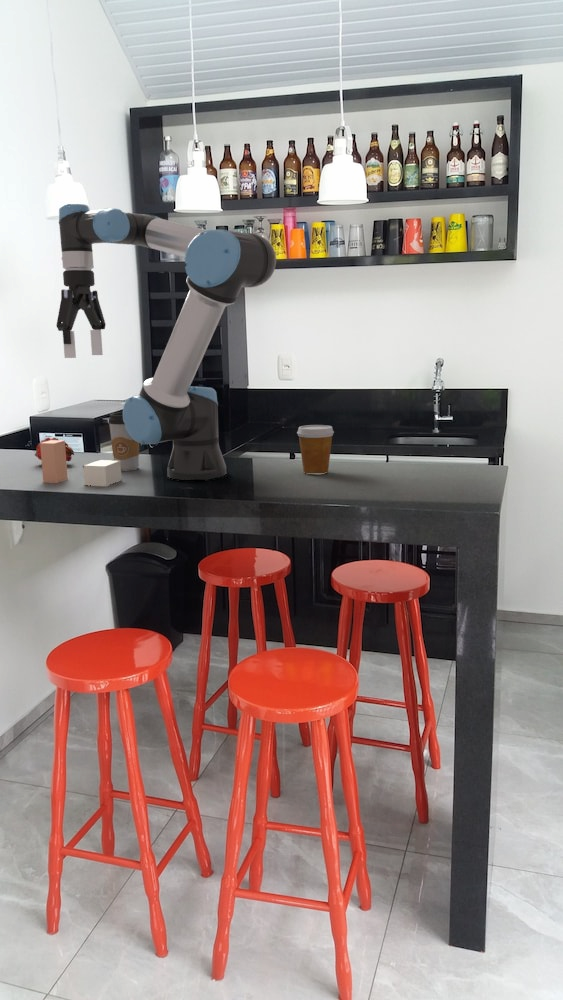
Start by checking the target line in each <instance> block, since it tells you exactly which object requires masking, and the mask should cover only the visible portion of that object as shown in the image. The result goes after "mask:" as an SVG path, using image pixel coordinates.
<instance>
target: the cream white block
mask: <svg viewBox="0 0 563 1000" xmlns="http://www.w3.org/2000/svg"><path fill="white" fill-rule="evenodd" d="M82 471H83V485H88V486H87V487H90V485H91V487H109V486H111V485H113V483H114V484H115V482H116V483H118V482H121V481H122V471H121V465H120V461H114V460H113V459H112V460H110V459H109V460H108V459H98V460H94V461H92V462H88V463H85V464H83V465H82ZM120 480H121V481H120ZM110 484H111V485H110ZM108 485H109V486H108Z"/></svg>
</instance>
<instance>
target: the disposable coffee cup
mask: <svg viewBox="0 0 563 1000" xmlns="http://www.w3.org/2000/svg"><path fill="white" fill-rule="evenodd" d="M334 433H335V431H334V429H333V426H331V425H324V424H309V425H308V424H307V425H301V426H299V427H298V429H297V431H296V434H297V436H298V439H299V440H298V442H299V447H300V454H301V461H302V462H301V464H302V469H303V473H304V472H305V473H325V472H328V473H329V468H330V457H331V452H332V451H331V450H332V441H333V436H334Z"/></svg>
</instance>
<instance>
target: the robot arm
mask: <svg viewBox="0 0 563 1000" xmlns="http://www.w3.org/2000/svg"><path fill="white" fill-rule="evenodd" d="M58 225H59V237H60V249H61V260H62V268H63V269H65V270H63V272H62V278H63V286H65V287H68V289H67V288H66V289H61V293H60V294H61V295H60V296H61V298H60V299H61V300H60V303H59V304H60V305H59V309H58V315H57V320H56V328H57V330H58V332H59V331H60V332H62V340H63V341H62V342H63V354H64V359H72V358H73V359H76V358H77V355H76V340H75V339H76V337H75V331H74V330H73V327H74V324H75V321H76V319H77V316H78V314H79V313H78V312H79V310H82V311H83V312H84V315H85V317H86V319H87V320H88V321H87V322H88V323H89V325H90V327H91V328H92V329H90V331H89V332H90V345H91V355H92V356H103V342H102V341H103V338H102V330H105V328H106V322H105V321H106V320H105V317H104V314H103V311H102V308H101V304H100V301H99V296H98V295H99V293H98V290H96V289H95V290H91V287H93V286H95V285H96V284H95V273H94V271H93V270H92V269H94V265H95V264H94V258H93V257H94V256H93V244H102V243H103V244H104V243H105V244H117V245H132V246H139V247H144V248H148V249H151V250H152V249H153V250H157V251H160V252H163V253H167V254H170V255H174V256H177V257H181V258H184V264H185V265H186V266H185V267H184V269H185V272H186V275H187V277H186V282H185V283H186V284H187V286H188V289H189V291H188V293H187V296H186V298H185V300H184V303H183V305H182V308H181V310H180V313H179V315H178V317H177V320H176V322H175V325H174V327H173V330H172V332H171V335H170V337H169V339H168V342H167V343H166V347H165V348H164V351H163V353H162V356H161V358H160V361H159V363H158V366H157V367H156V370H155V373H154V375H153V377H150V378H147V379H146V380H145V381H144V382H143V384H142V387H141V389H140V391H139V394H138V395H133V396H131V397H129V398H127V400H126V401H125V402H124V403H123V408H122V413H123V421H124V423H125V428H126V430H127V432H128V433H129V435H130V436H131V437H132V438H133V439H134V440H135V441H136V442H138V443H139V444H141V445H158V444H159V443H165V442H168V441H172V450H171V454H170V459H169V461H168V464H167V471H166V472H167V478H168V477H169V478H168V479H170V478H172V479H171V480H173V479H181V480H184V479H185V480H191V479H192V480H193V479H208V478H215V477H220V476H223V475H225V474H227V465H226V462H225V459H224V456H223V453H222V451H221V449H220V448H221V447H220V445H219V444H220V443H219V442H220V441H219V440H220V439H219V410H218V409H219V407H218V406H219V402H218V396H217V391H216V390H215V389H214V388H213V387H206V386H191V384H192V383H193V381H194V378H195V377H196V374H197V371H198V369H199V367H200V365H201V363H202V361H203V358H204V357H205V356H204V355H205V353H206V352H207V349H208V346H210V342H211V340H212V338H213V335H214V333H215V331H216V329H217V327H218V324H219V322H220V319H221V317H222V315H223V314H224V311H225V309H226V307H228V306H232V305H234V304H235V303H236V301H237V299H238V296H239V294H240V292H241V290H242V288H257V287H259V286H261V285H263V284H265V283H266V282H268V280H269V279H271V278H272V276H273V274H274V272H275V269H276V265H277V256H276V255H277V254H276V252H275V248H274V247H273V245H272V244H271V243H270V241H268V240H267V238H265V237H263V235H262V236H261V235H259V234H256V233H249V232H248V233H247V232H240V231H239V232H238V231H230V230H226V229H221V228H219V229H203V228H199V227H195V226H191V225H188V224H184V223H180V222H175V221H171V220H168V219H163V218H161V217H159V216H156V215H154V214H142V213H132V212H123V211H122V210H121V209H119V208H110V207H107V208H103V209H96V210H90V207H89V205H87V204H84V203H64V204H61V205H60V206H59V208H58Z"/></svg>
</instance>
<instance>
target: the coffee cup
mask: <svg viewBox="0 0 563 1000" xmlns="http://www.w3.org/2000/svg"><path fill="white" fill-rule="evenodd" d="M108 425H109V431H110V442H111V449H112V456H113V461H120V465H121V472H128V471H129V472H130V470H131V471H136V470H137V469H139V468H138V467H140V461H139V460H140V459H139V457H140V443H138V442H136V441H135V440H134V439H133V438H132V437H131V436H130V435H129V433H128V432H127V430H126V428H125V423H124V421H123V412H113V413H110V414H109V417H108Z"/></svg>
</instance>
